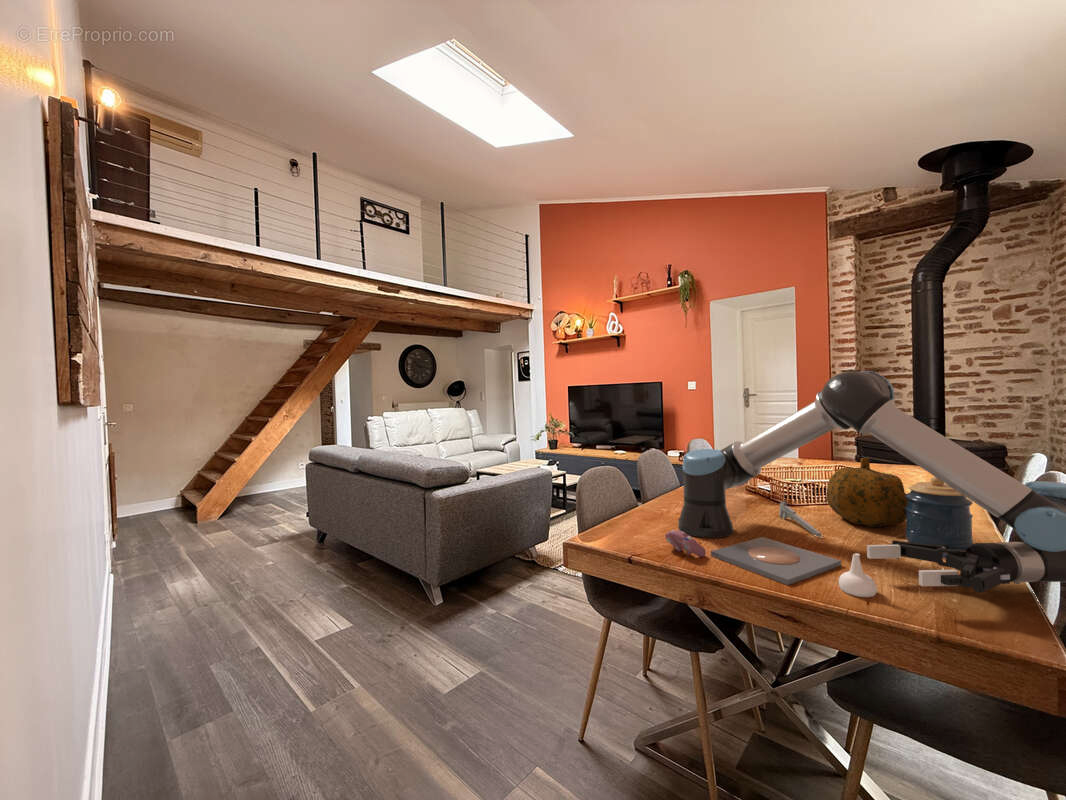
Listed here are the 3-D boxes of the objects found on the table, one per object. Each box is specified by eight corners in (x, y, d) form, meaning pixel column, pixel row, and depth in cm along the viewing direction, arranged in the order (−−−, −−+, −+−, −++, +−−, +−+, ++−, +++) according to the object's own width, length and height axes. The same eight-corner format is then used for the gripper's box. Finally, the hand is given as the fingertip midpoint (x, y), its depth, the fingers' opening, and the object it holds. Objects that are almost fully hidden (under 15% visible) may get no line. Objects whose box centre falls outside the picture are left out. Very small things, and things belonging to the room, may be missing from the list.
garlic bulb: (861, 587, 94) (858, 548, 95) (885, 598, 88) (882, 556, 88) (832, 588, 94) (829, 549, 94) (854, 599, 87) (851, 558, 88)
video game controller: (669, 553, 119) (659, 531, 118) (680, 543, 121) (671, 521, 120) (696, 565, 110) (686, 542, 109) (708, 554, 112) (698, 532, 111)
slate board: (710, 555, 112) (710, 550, 112) (762, 541, 122) (762, 536, 122) (787, 585, 95) (787, 578, 95) (841, 565, 104) (841, 559, 104)
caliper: (779, 518, 143) (778, 499, 143) (782, 518, 143) (782, 498, 143) (820, 539, 122) (819, 517, 122) (824, 539, 122) (824, 516, 122)
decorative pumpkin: (841, 528, 127) (841, 458, 129) (818, 514, 148) (818, 454, 149) (927, 535, 122) (926, 462, 123) (890, 520, 142) (890, 457, 143)
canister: (987, 550, 110) (987, 479, 110) (944, 555, 108) (943, 482, 108) (932, 534, 123) (931, 470, 123) (892, 538, 121) (891, 473, 121)
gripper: (1075, 611, 77) (947, 613, 77) (946, 557, 102) (850, 559, 102) (1074, 568, 77) (947, 570, 77) (945, 524, 101) (850, 526, 102)
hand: (892, 564), depth 90 cm, fingers open, 13 cm apart
